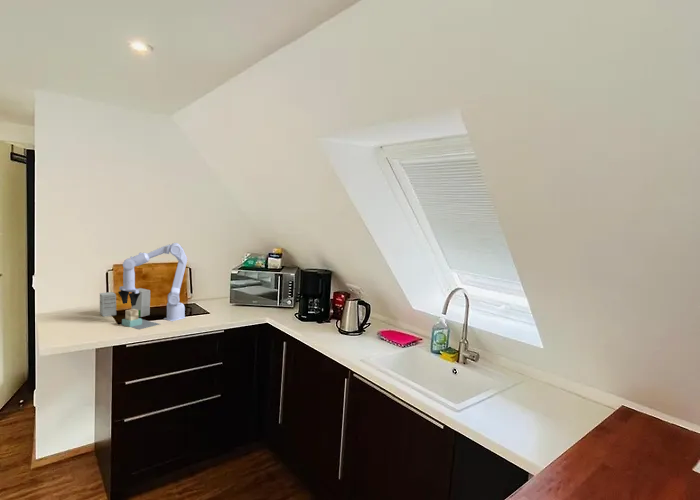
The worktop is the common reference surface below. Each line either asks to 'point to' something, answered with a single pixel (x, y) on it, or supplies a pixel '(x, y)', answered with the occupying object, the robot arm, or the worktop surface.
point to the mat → (145, 324)
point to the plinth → (132, 322)
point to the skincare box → (143, 303)
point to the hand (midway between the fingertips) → (129, 304)
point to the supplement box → (108, 304)
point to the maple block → (131, 314)
